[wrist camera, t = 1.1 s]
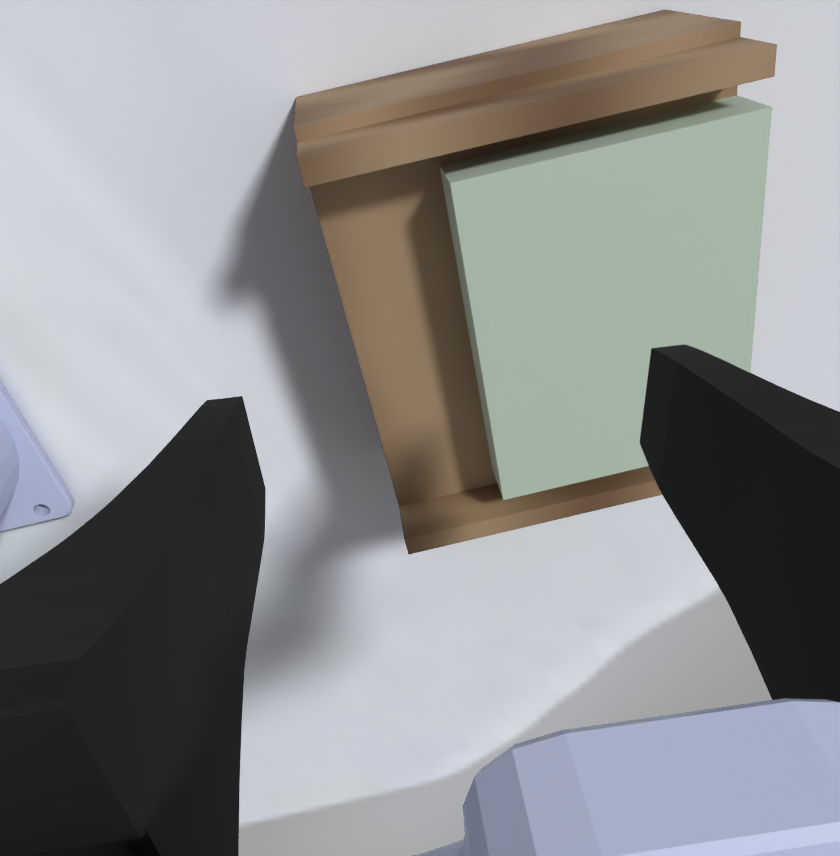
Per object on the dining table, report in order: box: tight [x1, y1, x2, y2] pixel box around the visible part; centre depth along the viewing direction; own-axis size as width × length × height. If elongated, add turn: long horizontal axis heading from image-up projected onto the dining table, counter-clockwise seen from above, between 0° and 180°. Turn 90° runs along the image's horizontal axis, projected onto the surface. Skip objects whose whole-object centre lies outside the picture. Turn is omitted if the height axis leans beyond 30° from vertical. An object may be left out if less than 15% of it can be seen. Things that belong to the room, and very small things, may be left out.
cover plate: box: [440, 95, 772, 500], centre depth 18 cm, size 7×9×2 cm
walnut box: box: [293, 10, 777, 554], centre depth 20 cm, size 10×12×6 cm
